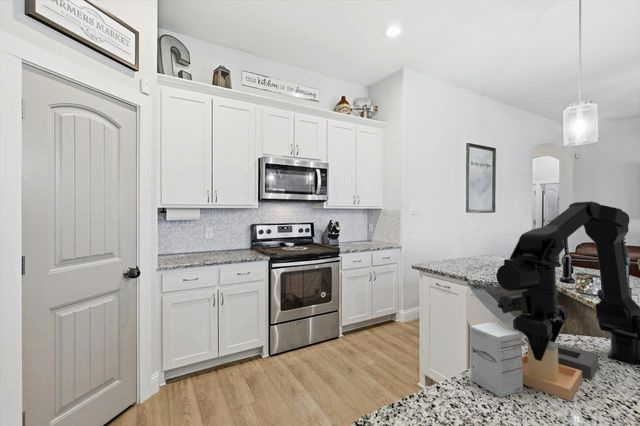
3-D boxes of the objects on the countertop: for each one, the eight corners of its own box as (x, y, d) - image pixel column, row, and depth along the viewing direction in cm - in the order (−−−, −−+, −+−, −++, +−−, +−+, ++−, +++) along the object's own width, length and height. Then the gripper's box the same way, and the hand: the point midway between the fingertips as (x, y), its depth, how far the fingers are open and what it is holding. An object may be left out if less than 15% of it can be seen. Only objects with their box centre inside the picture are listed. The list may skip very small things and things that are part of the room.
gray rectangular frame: (540, 350, 83) (540, 339, 83) (598, 366, 74) (598, 353, 74) (529, 361, 76) (528, 349, 77) (591, 379, 67) (590, 366, 67)
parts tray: (522, 362, 76) (522, 353, 76) (582, 381, 67) (582, 370, 67) (506, 378, 68) (505, 368, 68) (570, 401, 59) (570, 389, 59)
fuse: (532, 370, 70) (531, 336, 71) (559, 379, 67) (557, 343, 67) (528, 374, 69) (527, 340, 69) (555, 383, 65) (554, 346, 65)
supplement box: (470, 381, 67) (468, 325, 68) (493, 374, 70) (491, 321, 70) (499, 399, 60) (497, 336, 61) (524, 391, 63) (522, 331, 63)
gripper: (514, 277, 80) (516, 335, 80) (486, 287, 69) (488, 355, 68) (566, 283, 72) (569, 348, 71) (545, 296, 60) (548, 374, 59)
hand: (543, 355), depth 68 cm, fingers open, 7 cm apart
